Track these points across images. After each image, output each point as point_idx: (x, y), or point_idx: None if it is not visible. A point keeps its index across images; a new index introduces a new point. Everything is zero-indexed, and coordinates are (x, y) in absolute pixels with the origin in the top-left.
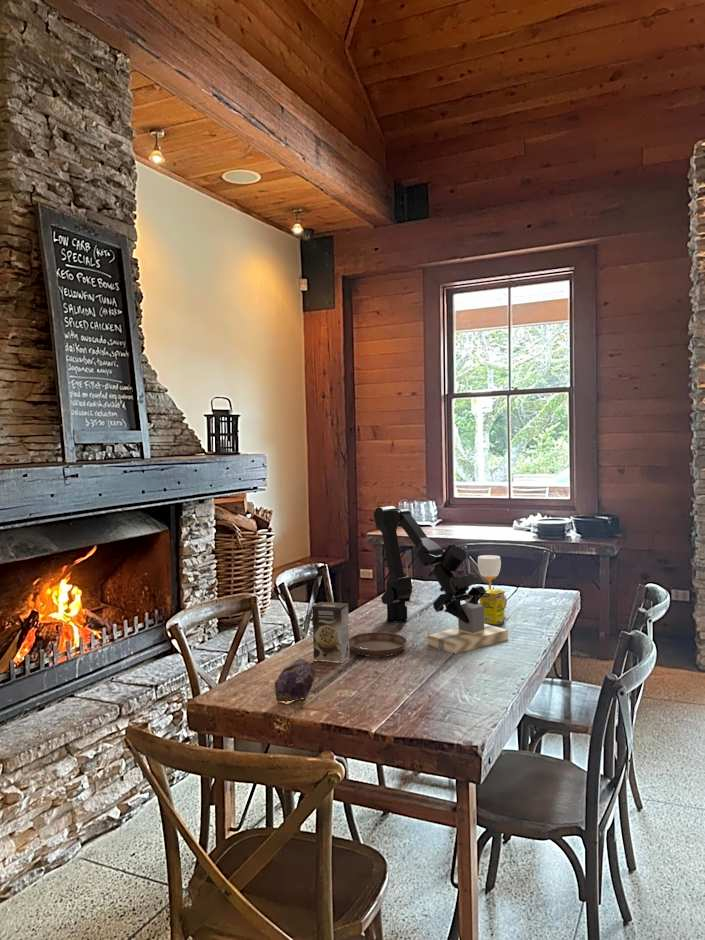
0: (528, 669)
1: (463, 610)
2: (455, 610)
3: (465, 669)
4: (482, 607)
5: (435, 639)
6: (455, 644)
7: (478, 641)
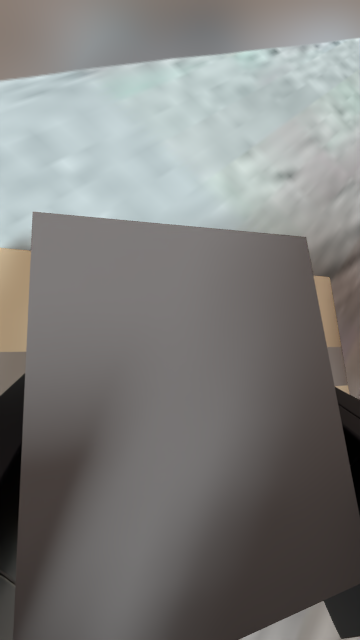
0: (217, 59)
1: None
2: None
3: (340, 183)
4: (80, 228)
5: None
6: (324, 278)
7: None
